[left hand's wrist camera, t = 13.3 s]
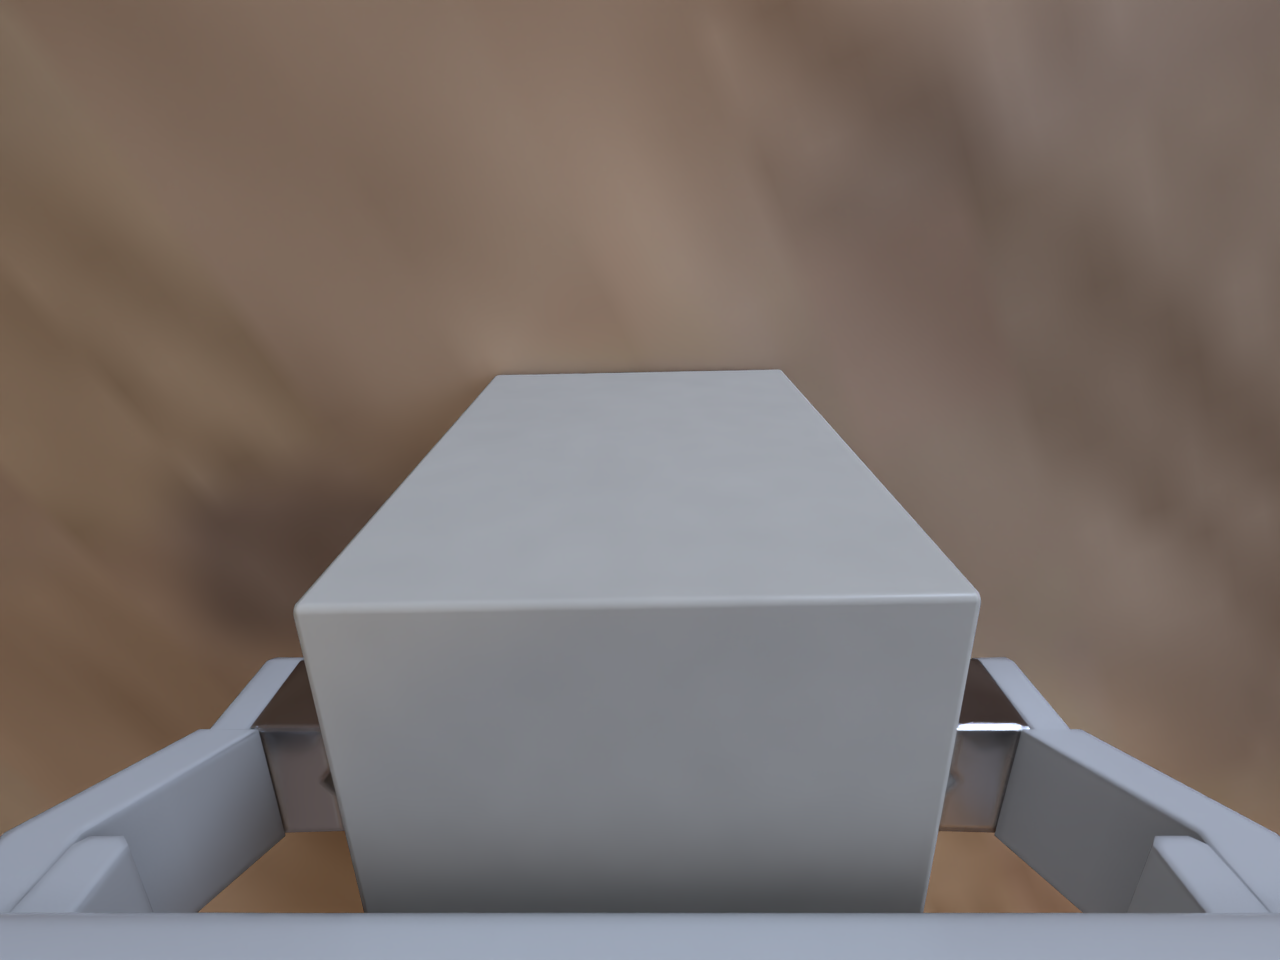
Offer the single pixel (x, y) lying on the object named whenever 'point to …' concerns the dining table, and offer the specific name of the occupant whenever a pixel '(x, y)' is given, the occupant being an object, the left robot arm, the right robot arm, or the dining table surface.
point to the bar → (640, 661)
